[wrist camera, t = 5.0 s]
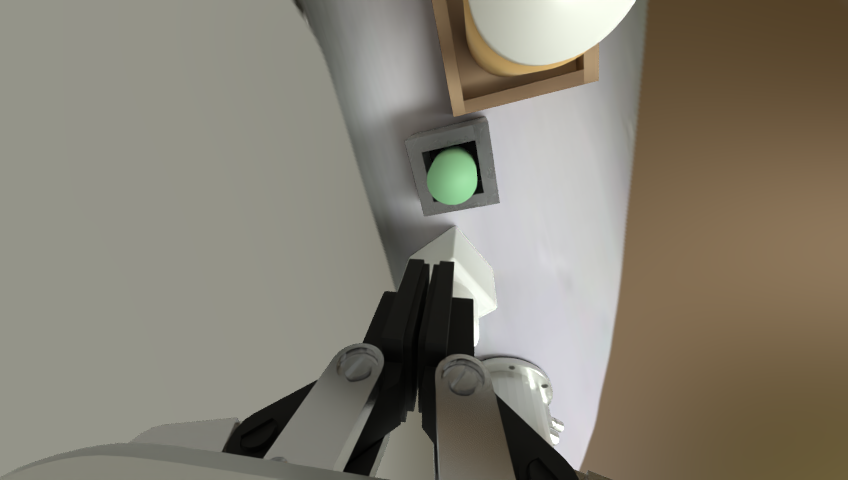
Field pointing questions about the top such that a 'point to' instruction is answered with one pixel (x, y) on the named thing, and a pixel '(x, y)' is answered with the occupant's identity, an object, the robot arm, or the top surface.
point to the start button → (452, 176)
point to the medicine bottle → (463, 271)
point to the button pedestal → (446, 137)
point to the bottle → (536, 31)
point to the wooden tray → (486, 90)
